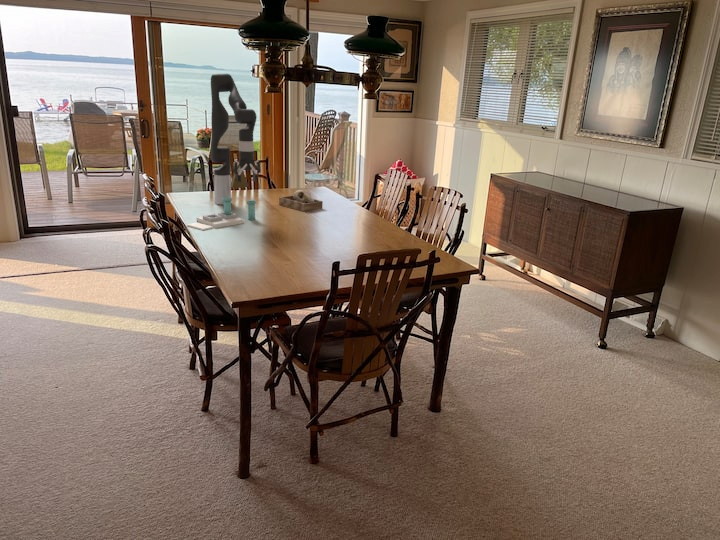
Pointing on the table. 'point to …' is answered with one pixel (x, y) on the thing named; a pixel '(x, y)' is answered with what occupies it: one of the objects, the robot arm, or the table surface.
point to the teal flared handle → (227, 205)
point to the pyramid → (239, 184)
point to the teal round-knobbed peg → (251, 209)
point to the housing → (220, 220)
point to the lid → (199, 226)
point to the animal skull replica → (302, 196)
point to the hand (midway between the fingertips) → (247, 181)
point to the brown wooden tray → (300, 204)
